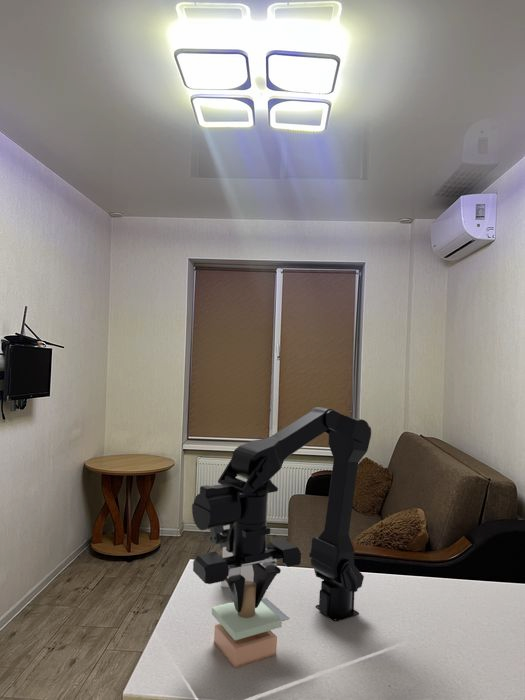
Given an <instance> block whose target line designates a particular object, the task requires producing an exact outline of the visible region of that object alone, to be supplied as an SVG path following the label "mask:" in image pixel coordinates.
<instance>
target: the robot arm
mask: <svg viewBox="0 0 525 700" xmlns="http://www.w3.org/2000/svg"><path fill="white" fill-rule="evenodd" d="M324 433H325V434H327V435H328V446H329V449H330V452H331V455H332V458H333V461H332V470H331V477H330V484H329V492H328V497H327V498H328V499H327V506H326V515H325V521H324V529H323V530H322V532H320V534H319V535H318V537H315V536H314V537H312V539H311V549H310V552H309V555H308V558H310V565H311V566H312V568H313V570H314V574H315V577H317V578H320V580H321V586H320V589H319V597H318V598H319V601H318V604H316V605H315V608H316V609H317V610H319V612H320V613H322V614H323V615H324V616H326V617H327V618H329V620H331V621H333V622H339V621H343V620H346V619H349V618H353V617H356V616H358V615H359V616H360V612H359V611H357V610H356V609H355V593H356V592H358V590H359V589H360V588H362V587H363V582H364V578H365V576H364V575H363V573H362V572H361V571H360V570H359V568H357V566H356V565H355V548H354V545H353V543H352V540H351V537H350V528H351V521H352V514H353V512H352V511H353V510H352V509H353V505H354V497H355V490H356V483H357V482H356V480H357V475H358V473H357V472H358V467H359V466H358V465H359V463H360V462H361V460H362V459H363V457H365V455H366V454H367V452H368V451H369V450H368V449H369V445H370V442H371V437H372V428H371V426H370V425H369V423H368V422H367V421H366V420H364V419H362V418H355V417H349V416H347V415H344V414H341V413H340V412H338V411H336V410H334V409H333V408H327V407H320V406H316V407H313V408H311V410H310V411H309V412H308V413H306V414H305V415H303V416H301V417H300V418H298V419H296V420H295V421H294V422H291V423H290V424H289V425H287V426H286V427H283V428H282V429H280V430H279V431H277V432H276V433H274V434H272V435H271V436H269V437H266V438H261V439H254V440H252V441H249V442H247V443H244V444H241V445H238V446H237V447H236V448H235V449H234V450H233V451H232V457H231V459H230V461H228V463H227V465H226V466H225V468H224V470H223V472H222V473H221V475H220V476H219V478H218V480H217V483H218V484H214V485H207V484H206V485H201V486H200V488H199V493H198V494H197V495H196V496H195V498H194V500H193V503H192V505H191V512H192V513H191V514H192V517H193V521H194V524H195V525H196V527H197V528H198V530H200V531H208V530H209V540H210V541H209V542H210V544H211V545H219V549H223V547H226V551H228V552H229V553H230V552H232V553H233V556H230V557H225V558H222V556H221V554H219V553H218V552H216V551H212V552H210V551H209V552H205V553H199V554H197V555H196V557H194V560H193V561H192V571H193V573H194V574H195V575H196V576H197V577H198V578H199V579H201V581H202V582H204V584H206V585H207V584H208V585H212V584H217V583H221V582H222V581H224V580H225V581H226V582H227V583H228V586H229V587H228V588H229V591H230V594H231V597H232V602H234V605H235V609H236V611H237V612H241V608H242V603H243V594H244V585H245V578H244V577H243V576H242V575H241V567H243V566H247V565H252V567H253V571H254V577H253V582H254V583H256V598H255V608H257V607H258V605H259V604H260V602H261V600H262V599H264V596H265V594H266V592H267V590H268V588H270V586H271V584H272V582H273V580H274V579H275V577H277V575H278V574H280V573H281V568H280V567H278V566H277V563H278V560H281V559H282V563H283V564H284V565H285V567H287V568H290V567H294V566H299V565H301V563H302V562H301V561H302V560H301V558H302V553H301V550H300V548H299V547H298V546H296V545H295V544H293V543H291V542H290V541H288V540H287V539H285V538H282V539H276V540H271V541H268V543H267V535H271V527H269V526H267V519H268V518H267V516H268V497H269V495H268V494H271V493H276V492H278V491H279V488H278V487H277V486H276V485H275V484H274V483H273V482H272V480H271V479H273V477H275V475H276V474H277V473H278V472H280V470H281V469H282V466H283V465H284V464H283V463H284V462H285V461H286V459H287V458H289V456H292V455H293V454H294V453H295V452H297V451H298V450H301V448H303V447H305V446H306V445H308V444H309V443H310V442H312V441H314V440H315V439H316V438H319V436H322V435H323V434H324ZM237 477H240V478H242V479H245V481H244V480H242V479H239V478H237ZM226 525H230V528H229V529H224V526H226Z"/></svg>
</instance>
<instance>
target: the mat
mask: <svg viewBox="0 0 525 700" xmlns="http://www.w3.org/2000/svg"><path fill="white" fill-rule="evenodd" d="M261 601H262V602H263V603H264V604H265V605H266V606H267V607H268V608H269V609H270V610H271V611H273V612H274V613H275V614H276V615H277V616H278V617H279V618H280V619H281V620H282V622H283V621H284V622H285V621H288V620H290V619H291V618H290V617H289V616H288V615H287V614H286V613H284V612H283V611H282V610H280V608H278V607H277V606H276V605H275V604H274V603H273V602H272V601H270V599H268V598H267V597H265V598H264V597H263V598H262V600H261Z"/></svg>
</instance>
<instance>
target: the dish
mask: <svg viewBox="0 0 525 700" xmlns="http://www.w3.org/2000/svg"><path fill="white" fill-rule="evenodd" d="M213 635H214V636H213V643H214V644H215V646H217V648H218V649H219V650H220V652H221V653H222V654H223V655H224V657H225V658H226V659H227V661H229V663H230V665H232V667H233V668H234V669H235V668H239V667H242V666H245V665H248V664H252V663H254V662H257V661H260V660H261V661H262V660H264V659H267V658H271V657H273V656H277V644H278V636H277V635H276V633H274V632H273V631H272V630H269V631H266V632H263V633H259V634H256V635H252V636H249V637H245V638H242V639H239V640H234V639H233V638H232V637H231V636H230V635H229V633H228V632H227V631H226V630H225V629H224V628H223V626H222V625H221V624H220V623H219V622H218V623H215V624H214V634H213Z"/></svg>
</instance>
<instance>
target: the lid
mask: <svg viewBox="0 0 525 700" xmlns="http://www.w3.org/2000/svg"><path fill="white" fill-rule="evenodd" d="M255 598H256V583H254V582H252V581H245V585H244V594H243V603H242V608H241V612H237V611H236V609H235V605H234V602H233V601H232V602H228V603H227V602H226V603H222V604H220V605H216V606H212V607H211V615H212V616H213V618H214V619H215V620H216V622H218V624H219V623H220V624H221V625H222V626H223V628H224V629H225V630H226V631H227V632H228V633H229V635H230V636H231V637H232V638H233V639H234V640H239V639H242V638H245V637H249V636H252V635H256V634H259V633H263V632H266V631H269V630H271V631H272V630H276V629H280V628H283V627H282V624H283V623H282V622H283V621H282V620H281V619H280V618H279V617H278V616H277V615H276V614H275V613H274V612H273V611H271V610H270V609H269V608H268V607H267V606H266V605H265V604H264V603H263V602H262V601H261V602H260V604H259V605H258V607H257V608H255Z"/></svg>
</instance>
